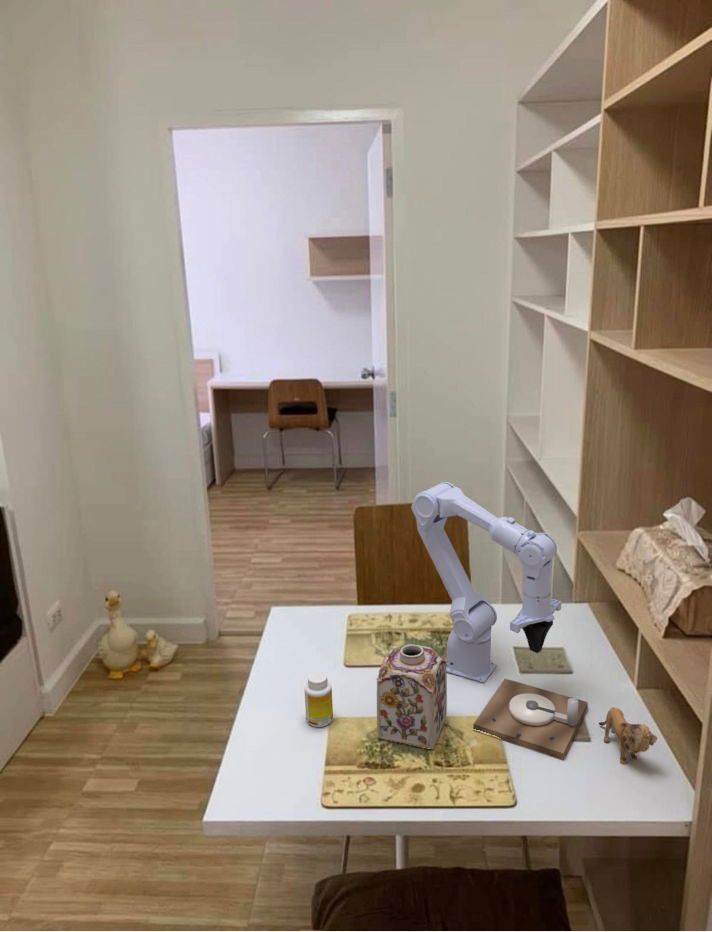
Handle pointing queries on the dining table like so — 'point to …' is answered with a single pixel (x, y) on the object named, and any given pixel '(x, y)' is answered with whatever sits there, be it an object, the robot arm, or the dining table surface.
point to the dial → (541, 710)
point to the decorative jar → (412, 695)
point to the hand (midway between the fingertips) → (535, 650)
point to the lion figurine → (628, 734)
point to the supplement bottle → (318, 700)
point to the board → (537, 738)
